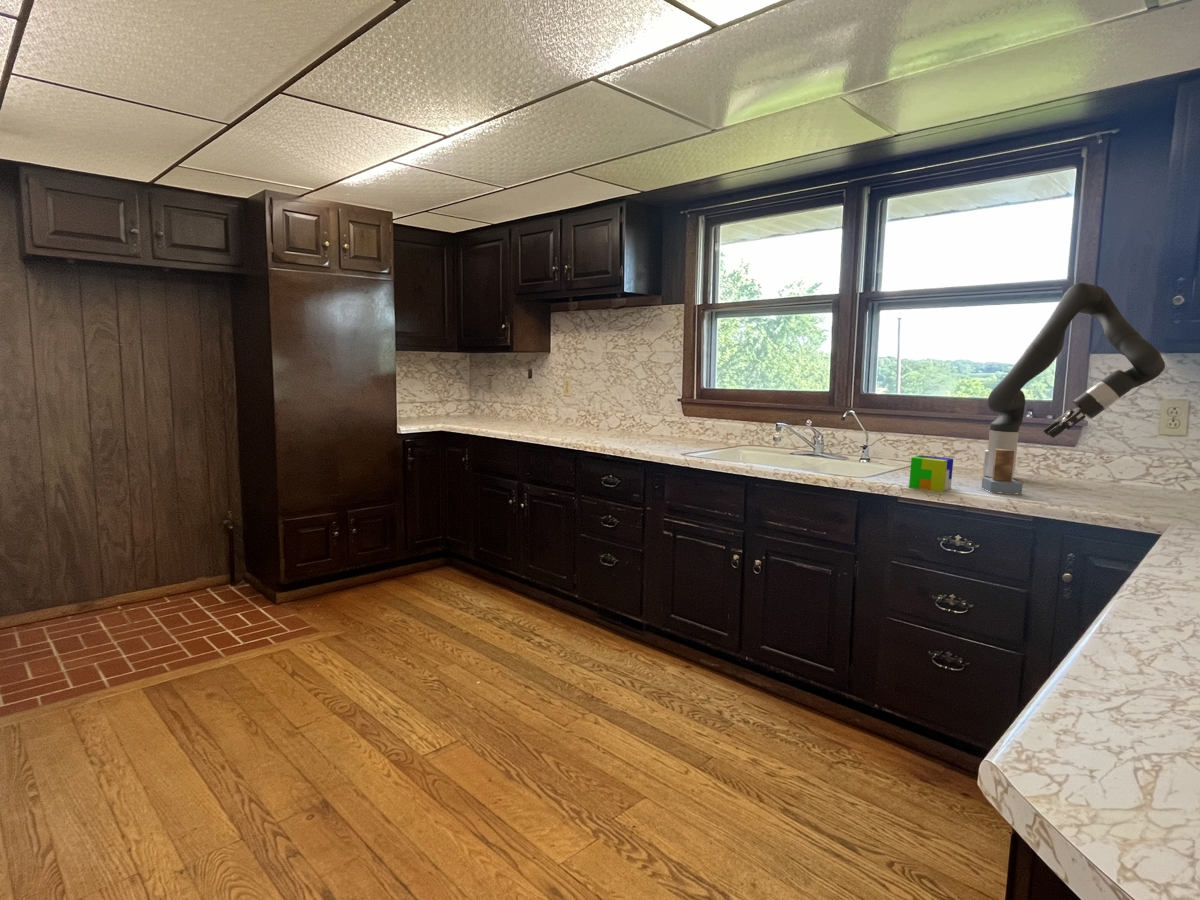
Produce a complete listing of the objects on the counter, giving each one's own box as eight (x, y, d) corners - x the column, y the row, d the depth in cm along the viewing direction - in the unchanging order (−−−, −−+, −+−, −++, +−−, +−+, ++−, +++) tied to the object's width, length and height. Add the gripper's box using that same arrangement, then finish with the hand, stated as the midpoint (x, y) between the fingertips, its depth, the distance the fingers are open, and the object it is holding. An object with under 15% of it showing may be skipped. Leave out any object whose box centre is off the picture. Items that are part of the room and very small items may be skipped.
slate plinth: (990, 493, 217) (991, 481, 216) (981, 489, 226) (982, 477, 225) (1021, 495, 215) (1022, 483, 214) (1011, 490, 224) (1012, 479, 223)
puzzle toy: (950, 488, 224) (953, 458, 222) (941, 491, 216) (944, 461, 215) (919, 484, 230) (921, 455, 229) (908, 487, 223) (911, 457, 222)
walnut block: (993, 480, 219) (996, 449, 218) (992, 478, 223) (995, 448, 222) (1011, 481, 217) (1014, 451, 216) (1009, 479, 221) (1012, 449, 220)
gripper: (1081, 390, 214) (1035, 424, 220) (1091, 391, 201) (1042, 427, 208) (1099, 407, 213) (1052, 441, 219) (1111, 409, 200) (1061, 445, 206)
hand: (1047, 434), depth 213 cm, fingers open, 8 cm apart
